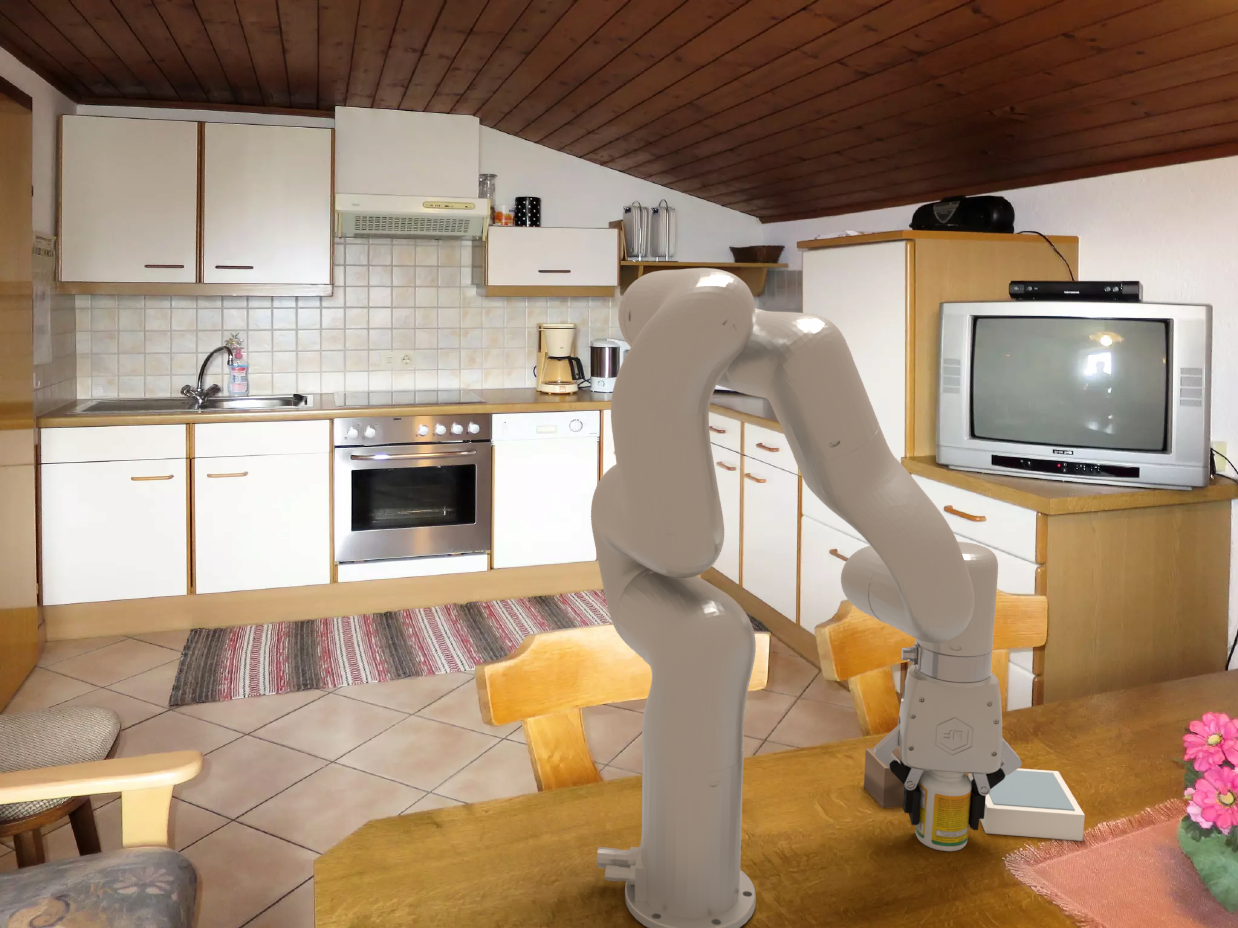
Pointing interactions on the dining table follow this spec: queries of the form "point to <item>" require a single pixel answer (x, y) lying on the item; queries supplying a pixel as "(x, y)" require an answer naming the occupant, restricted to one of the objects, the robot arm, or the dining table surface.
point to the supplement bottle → (944, 810)
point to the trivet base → (1033, 807)
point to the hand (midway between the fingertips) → (942, 819)
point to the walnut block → (883, 781)
